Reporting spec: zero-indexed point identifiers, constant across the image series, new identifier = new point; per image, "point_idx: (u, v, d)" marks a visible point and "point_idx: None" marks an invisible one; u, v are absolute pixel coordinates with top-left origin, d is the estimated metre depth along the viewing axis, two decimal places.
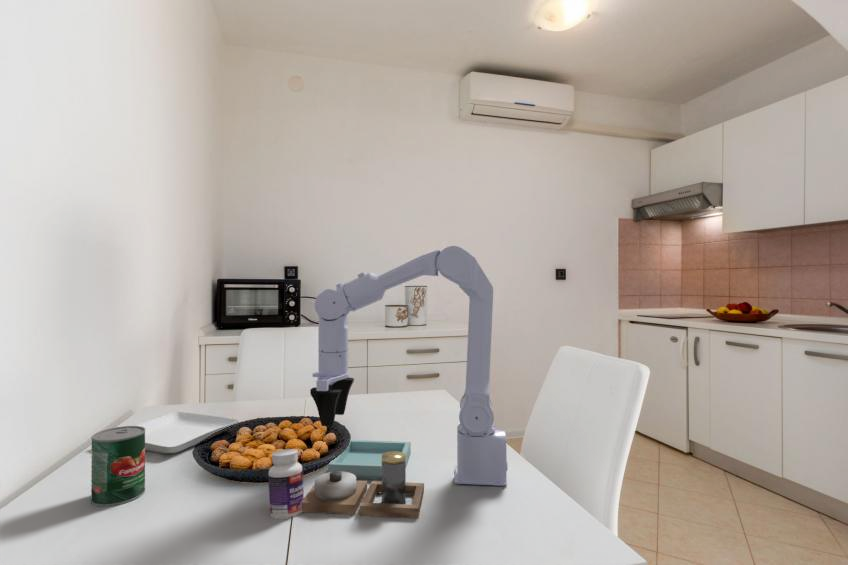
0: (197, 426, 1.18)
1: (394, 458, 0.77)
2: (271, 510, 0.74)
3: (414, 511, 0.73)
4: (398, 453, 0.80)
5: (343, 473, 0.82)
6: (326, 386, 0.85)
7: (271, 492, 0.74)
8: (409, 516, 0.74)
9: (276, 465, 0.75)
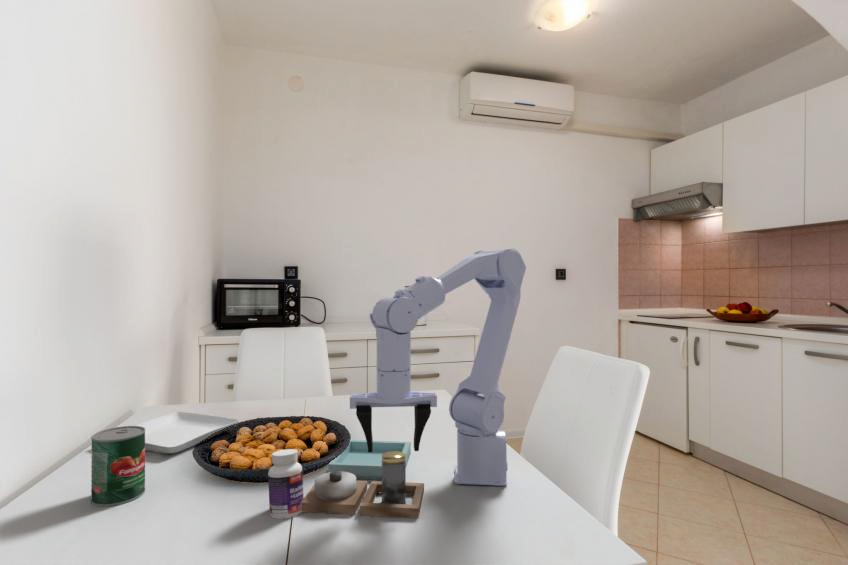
0: (197, 426, 1.18)
1: (394, 458, 0.77)
2: (271, 510, 0.74)
3: (414, 511, 0.73)
4: (398, 453, 0.80)
5: (343, 473, 0.82)
6: (350, 403, 0.77)
7: (271, 492, 0.74)
8: (409, 516, 0.74)
9: (276, 465, 0.75)
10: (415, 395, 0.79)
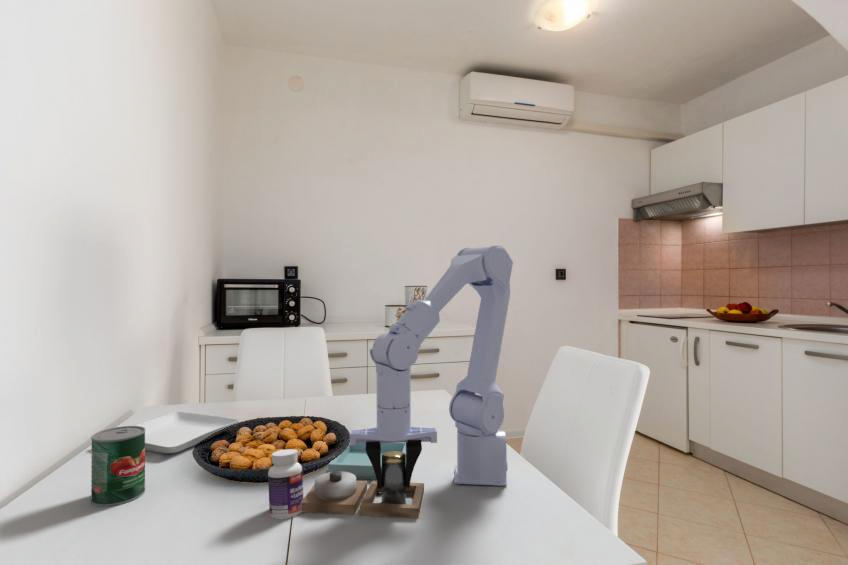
0: (197, 426, 1.18)
1: (394, 458, 0.77)
2: (271, 510, 0.74)
3: (414, 511, 0.73)
4: (398, 452, 0.80)
5: (343, 473, 0.82)
6: (350, 440, 0.77)
7: (271, 492, 0.74)
8: (409, 516, 0.74)
9: (276, 466, 0.75)
10: (415, 431, 0.79)
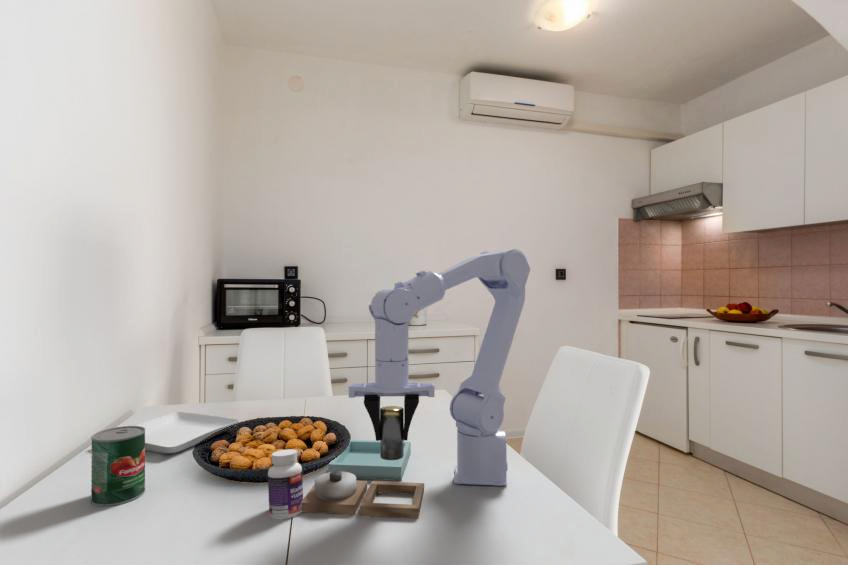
0: (197, 426, 1.18)
1: (392, 411, 0.79)
2: (271, 511, 0.74)
3: (414, 511, 0.73)
4: (397, 407, 0.81)
5: (343, 473, 0.82)
6: (349, 392, 0.79)
7: (271, 493, 0.74)
8: (409, 516, 0.74)
9: (276, 466, 0.75)
10: (413, 385, 0.80)
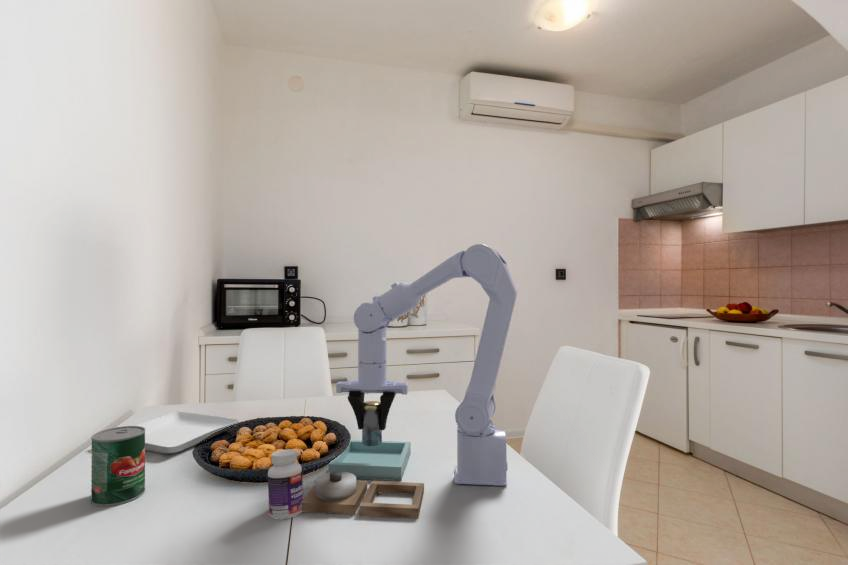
0: (197, 426, 1.18)
1: (371, 405, 0.94)
2: (271, 511, 0.74)
3: (414, 511, 0.73)
4: (377, 402, 0.96)
5: (343, 473, 0.82)
6: (336, 388, 0.95)
7: (271, 493, 0.74)
8: (409, 516, 0.74)
9: (276, 466, 0.75)
10: (390, 384, 0.95)
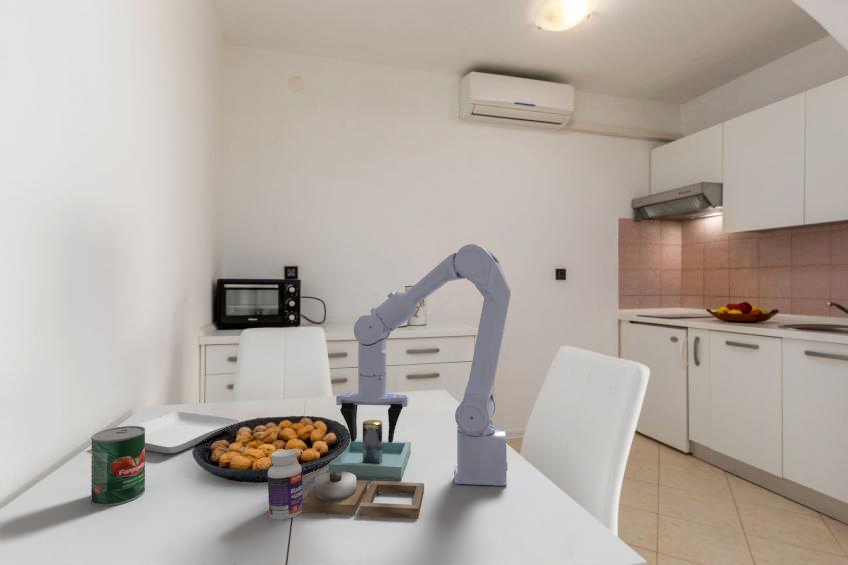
0: (198, 426, 1.18)
1: (372, 424, 0.94)
2: (271, 511, 0.74)
3: (414, 511, 0.73)
4: (377, 421, 0.96)
5: (343, 473, 0.82)
6: (336, 400, 0.95)
7: (271, 493, 0.74)
8: (409, 516, 0.74)
9: (277, 466, 0.75)
10: (390, 396, 0.95)
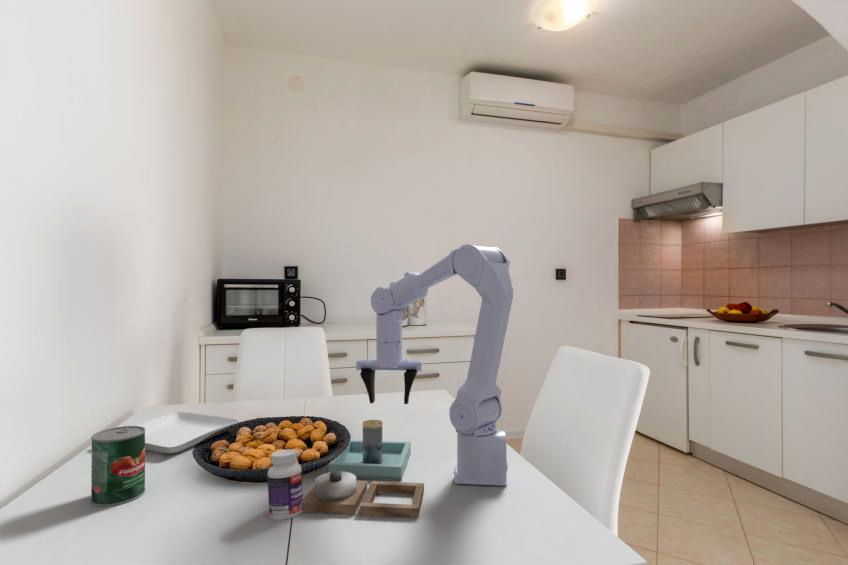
0: (198, 426, 1.18)
1: (371, 424, 0.94)
2: (271, 511, 0.74)
3: (414, 511, 0.73)
4: (377, 421, 0.96)
5: (343, 473, 0.82)
6: (356, 366, 1.04)
7: (271, 493, 0.74)
8: (409, 516, 0.74)
9: (277, 466, 0.75)
10: (405, 362, 1.03)
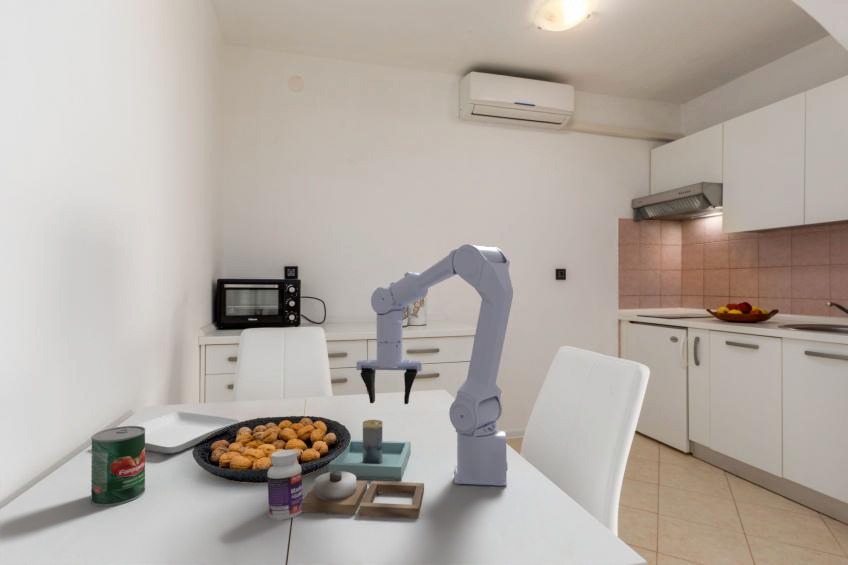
0: (198, 426, 1.18)
1: (372, 424, 0.94)
2: (271, 511, 0.74)
3: (414, 511, 0.73)
4: (377, 421, 0.96)
5: (343, 473, 0.82)
6: (357, 366, 1.04)
7: (271, 493, 0.74)
8: (409, 516, 0.74)
9: (277, 466, 0.75)
10: (405, 362, 1.04)
